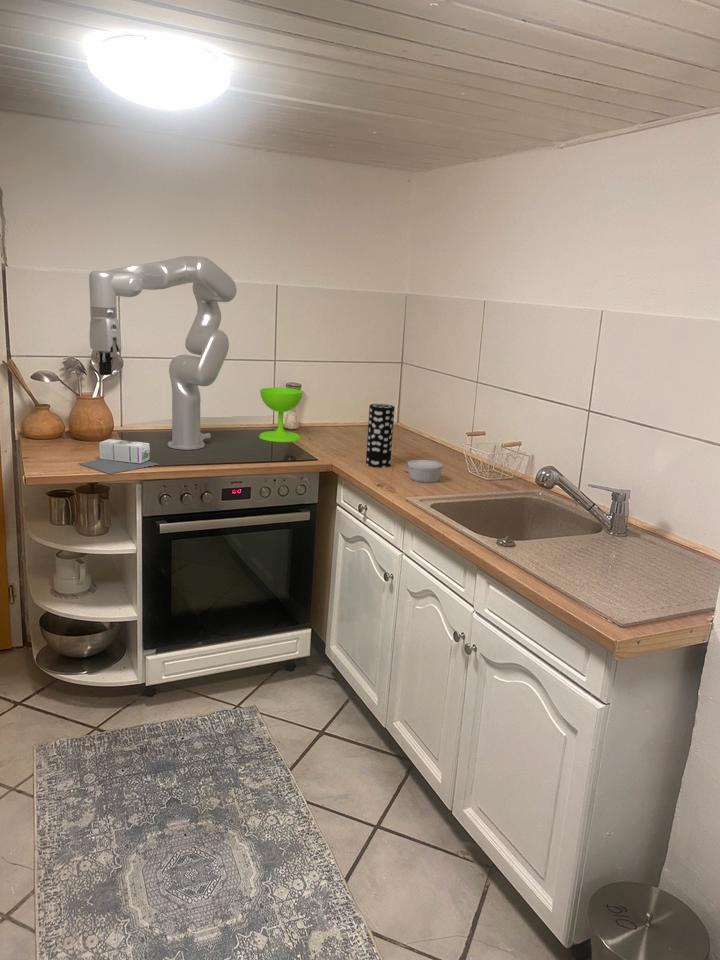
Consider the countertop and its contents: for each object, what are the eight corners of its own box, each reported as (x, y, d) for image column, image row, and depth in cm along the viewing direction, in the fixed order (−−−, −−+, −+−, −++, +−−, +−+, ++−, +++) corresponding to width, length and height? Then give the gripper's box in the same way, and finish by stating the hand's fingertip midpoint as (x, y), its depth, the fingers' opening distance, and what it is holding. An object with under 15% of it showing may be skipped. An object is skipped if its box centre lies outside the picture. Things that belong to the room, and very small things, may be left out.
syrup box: (99, 459, 235) (141, 465, 232) (98, 441, 234) (140, 446, 231) (109, 455, 241) (150, 460, 238) (108, 437, 239) (150, 442, 236)
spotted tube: (373, 468, 247) (377, 408, 242) (361, 462, 254) (365, 404, 249) (394, 467, 250) (399, 408, 245) (382, 461, 258) (386, 403, 253)
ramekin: (419, 473, 245) (420, 457, 243) (448, 480, 238) (449, 464, 236) (399, 478, 236) (400, 462, 235) (428, 486, 229) (429, 469, 228)
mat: (128, 455, 243) (128, 455, 243) (159, 465, 234) (159, 464, 234) (78, 464, 229) (78, 463, 229) (109, 474, 220) (109, 473, 220)
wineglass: (250, 435, 287) (251, 388, 282) (284, 431, 297) (285, 386, 293) (275, 443, 275) (277, 394, 271) (309, 439, 286) (311, 392, 281)
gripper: (129, 315, 223) (131, 376, 228) (99, 311, 232) (101, 371, 236) (107, 315, 217) (109, 378, 222) (77, 311, 226) (80, 372, 231)
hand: (105, 374), depth 229 cm, fingers closed
